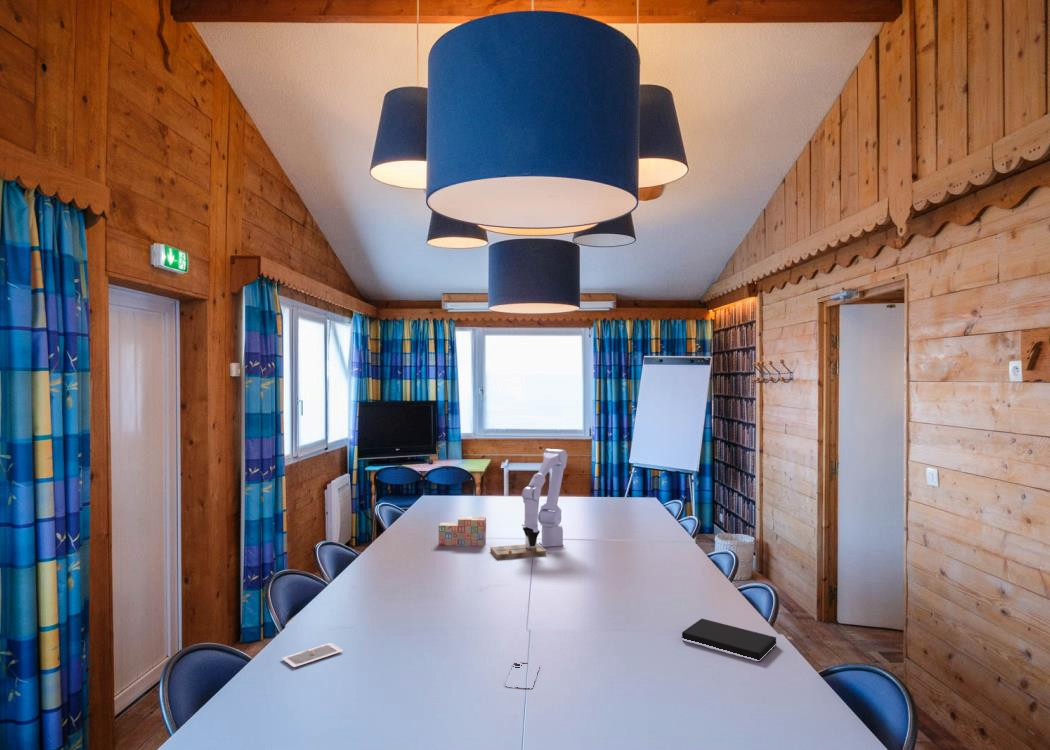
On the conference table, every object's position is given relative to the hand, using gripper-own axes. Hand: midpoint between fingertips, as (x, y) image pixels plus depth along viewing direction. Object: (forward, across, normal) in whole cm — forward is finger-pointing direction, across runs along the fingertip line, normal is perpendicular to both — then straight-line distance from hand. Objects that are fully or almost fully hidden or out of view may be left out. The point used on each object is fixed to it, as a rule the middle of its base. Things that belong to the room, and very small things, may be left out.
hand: (531, 544), depth 291 cm
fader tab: (+1, 0, 0) cm, 1 cm away
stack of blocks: (+4, -22, -26) cm, 35 cm away
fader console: (+3, 0, -6) cm, 7 cm away
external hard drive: (+4, +108, +28) cm, 112 cm away
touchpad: (+4, +83, -90) cm, 123 cm away
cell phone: (+4, +111, -36) cm, 117 cm away
